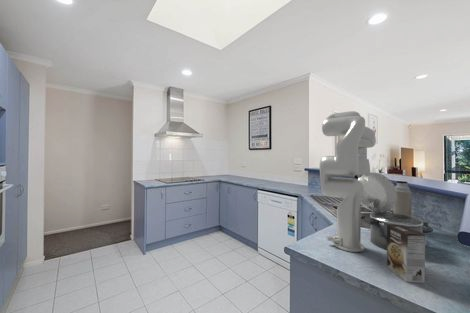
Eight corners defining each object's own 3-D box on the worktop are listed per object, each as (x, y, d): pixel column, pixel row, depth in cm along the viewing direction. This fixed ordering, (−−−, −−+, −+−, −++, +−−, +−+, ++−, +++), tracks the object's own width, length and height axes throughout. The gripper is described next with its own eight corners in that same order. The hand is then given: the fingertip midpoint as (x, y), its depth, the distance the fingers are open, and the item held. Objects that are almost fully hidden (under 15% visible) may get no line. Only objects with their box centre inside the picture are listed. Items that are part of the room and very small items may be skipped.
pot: (381, 254, 85) (381, 224, 85) (355, 236, 104) (355, 211, 104) (444, 256, 83) (443, 225, 84) (406, 237, 103) (406, 213, 103)
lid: (392, 172, 110) (388, 174, 113) (353, 172, 111) (350, 173, 114) (400, 213, 104) (395, 213, 107) (359, 212, 105) (355, 212, 108)
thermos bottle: (412, 229, 115) (412, 181, 116) (409, 232, 110) (409, 182, 111) (395, 226, 121) (395, 180, 122) (391, 228, 116) (391, 181, 117)
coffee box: (385, 267, 74) (385, 224, 74) (403, 267, 74) (403, 224, 74) (406, 282, 65) (405, 233, 65) (426, 283, 65) (426, 233, 65)
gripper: (350, 156, 120) (350, 186, 119) (376, 156, 119) (376, 187, 119) (344, 156, 127) (344, 185, 127) (368, 156, 127) (368, 185, 126)
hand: (359, 186), depth 123 cm, fingers closed
